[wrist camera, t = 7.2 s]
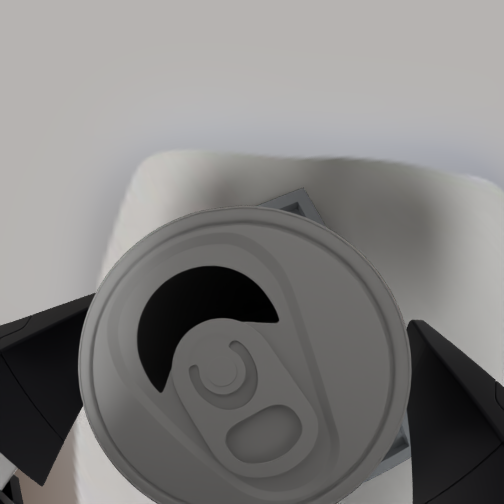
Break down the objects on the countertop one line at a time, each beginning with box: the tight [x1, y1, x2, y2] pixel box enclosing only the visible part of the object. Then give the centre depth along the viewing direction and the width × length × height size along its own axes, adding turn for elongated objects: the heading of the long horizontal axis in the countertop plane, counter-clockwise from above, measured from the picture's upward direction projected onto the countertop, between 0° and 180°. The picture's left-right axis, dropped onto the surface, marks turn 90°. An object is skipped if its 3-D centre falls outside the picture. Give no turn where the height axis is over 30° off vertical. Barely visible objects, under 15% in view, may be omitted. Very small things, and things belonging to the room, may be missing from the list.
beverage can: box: [78, 206, 412, 504], centre depth 9 cm, size 6×6×12 cm
